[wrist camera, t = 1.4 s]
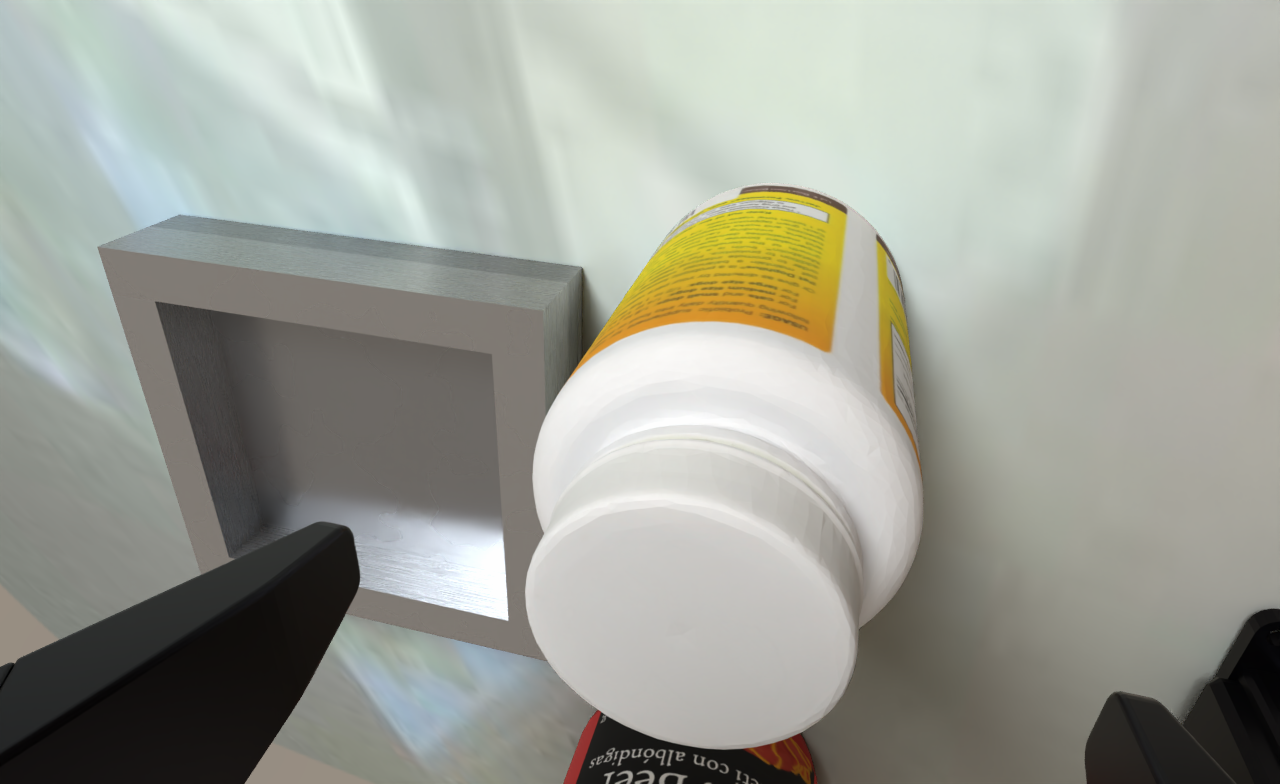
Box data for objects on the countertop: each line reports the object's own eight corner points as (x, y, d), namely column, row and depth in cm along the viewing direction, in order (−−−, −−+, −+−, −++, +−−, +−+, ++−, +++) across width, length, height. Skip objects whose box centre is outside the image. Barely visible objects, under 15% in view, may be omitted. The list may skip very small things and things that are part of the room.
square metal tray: (582, 266, 19) (542, 310, 16) (581, 596, 24) (551, 662, 22) (179, 214, 21) (97, 247, 19) (259, 526, 26) (202, 580, 24)
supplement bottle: (605, 290, 19) (375, 588, 10) (781, 117, 16) (672, 323, 7) (767, 448, 20) (685, 843, 11) (961, 311, 17) (1053, 697, 8)
